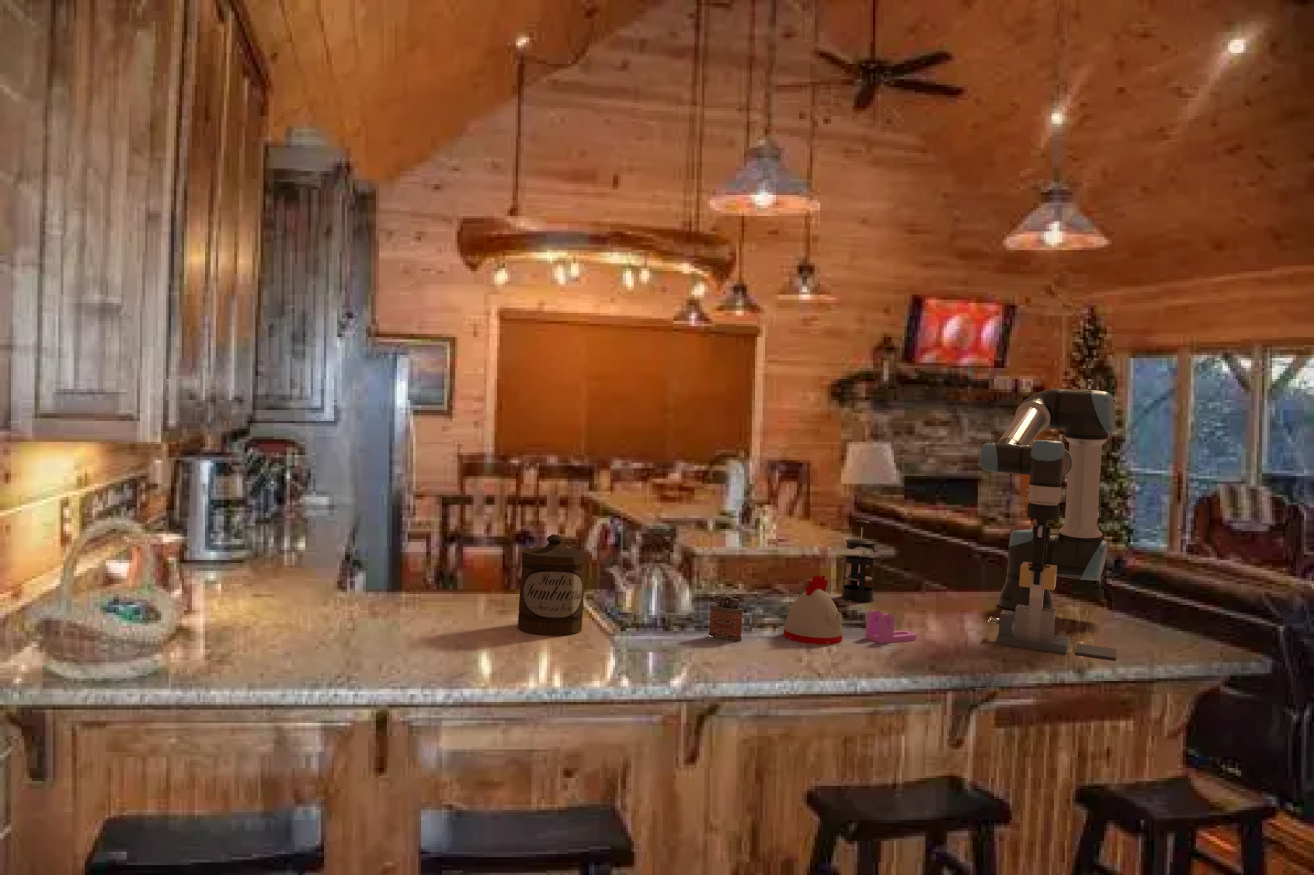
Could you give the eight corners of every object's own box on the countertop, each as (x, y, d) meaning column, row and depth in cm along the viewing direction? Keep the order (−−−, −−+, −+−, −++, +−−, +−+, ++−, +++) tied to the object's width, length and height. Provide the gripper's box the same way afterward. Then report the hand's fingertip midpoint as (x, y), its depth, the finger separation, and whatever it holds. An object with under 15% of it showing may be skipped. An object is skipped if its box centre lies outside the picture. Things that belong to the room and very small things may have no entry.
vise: (989, 633, 279) (994, 571, 279) (1068, 644, 272) (1073, 580, 271) (983, 642, 268) (988, 577, 268) (1066, 654, 261) (1071, 587, 260)
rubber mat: (1077, 645, 271) (1077, 643, 271) (1116, 651, 268) (1116, 648, 268) (1075, 654, 261) (1075, 652, 261) (1116, 660, 257) (1116, 657, 257)
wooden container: (520, 635, 245) (526, 538, 244) (515, 621, 259) (520, 529, 258) (586, 636, 248) (591, 540, 247) (577, 622, 262) (582, 531, 261)
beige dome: (853, 640, 262) (857, 578, 261) (820, 647, 252) (824, 582, 251) (805, 629, 271) (809, 569, 271) (772, 635, 261) (776, 573, 261)
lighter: (743, 640, 254) (746, 597, 254) (738, 642, 251) (741, 599, 251) (711, 634, 258) (714, 592, 257) (706, 637, 255) (708, 594, 254)
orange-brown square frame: (1021, 581, 274) (1023, 561, 274) (1055, 585, 271) (1057, 565, 271) (1019, 586, 267) (1020, 565, 267) (1053, 590, 264) (1055, 569, 264)
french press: (877, 603, 312) (883, 523, 311) (845, 601, 312) (850, 521, 311) (867, 595, 324) (873, 518, 323) (836, 594, 324) (841, 517, 323)
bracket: (880, 643, 260) (883, 614, 260) (865, 638, 265) (867, 610, 265) (920, 640, 267) (922, 612, 267) (904, 635, 272) (906, 607, 271)
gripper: (1031, 498, 279) (1024, 586, 280) (1024, 504, 260) (1017, 599, 261) (1062, 501, 276) (1055, 590, 277) (1057, 507, 257) (1050, 603, 258)
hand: (1036, 594), depth 269 cm, fingers closed on orange-brown square frame, 8 cm apart
